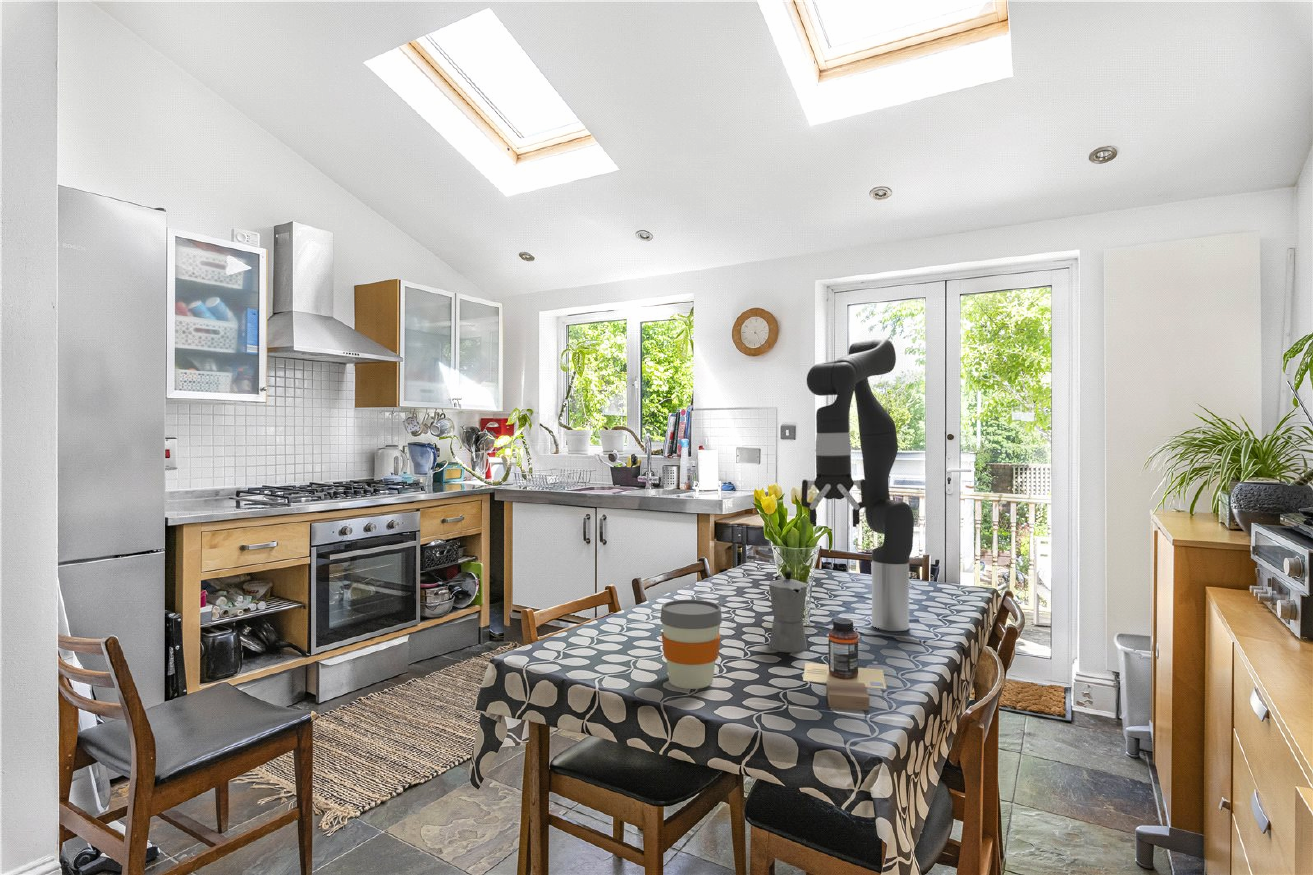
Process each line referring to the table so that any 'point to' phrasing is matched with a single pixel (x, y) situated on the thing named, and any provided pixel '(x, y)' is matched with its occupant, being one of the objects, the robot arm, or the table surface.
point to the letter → (865, 675)
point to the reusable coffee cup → (691, 641)
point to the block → (847, 695)
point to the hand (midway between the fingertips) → (834, 526)
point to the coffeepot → (787, 614)
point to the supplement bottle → (843, 649)
